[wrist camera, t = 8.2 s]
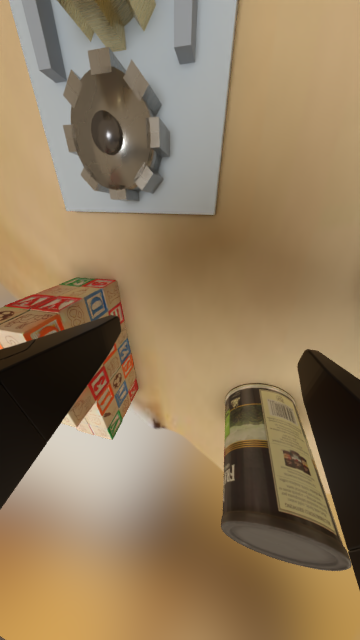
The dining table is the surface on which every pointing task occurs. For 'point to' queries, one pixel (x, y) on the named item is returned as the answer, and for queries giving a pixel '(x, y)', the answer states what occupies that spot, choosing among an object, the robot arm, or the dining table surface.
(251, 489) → the coffee can
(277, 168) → the dining table surface
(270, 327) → the dining table surface
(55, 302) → the stack of blocks
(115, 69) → the gear
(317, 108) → the dining table surface
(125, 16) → the brass gear
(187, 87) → the gear board
